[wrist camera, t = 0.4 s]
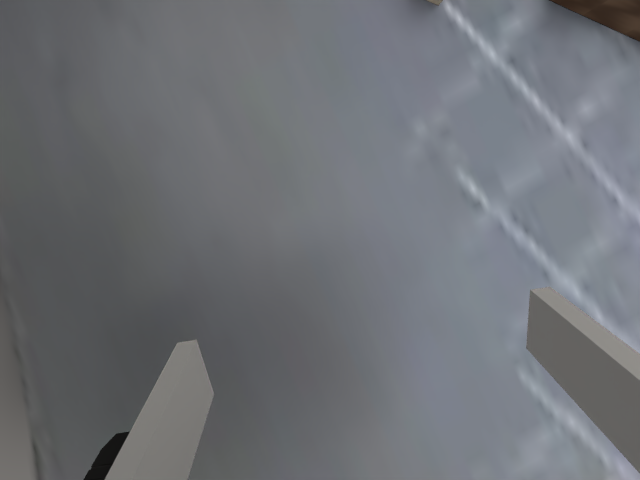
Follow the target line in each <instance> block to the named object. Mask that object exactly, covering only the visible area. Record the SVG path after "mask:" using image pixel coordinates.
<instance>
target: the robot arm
mask: <svg viewBox="0 0 640 480" xmlns="http://www.w3.org/2000/svg"><path fill="white" fill-rule="evenodd" d="M526 348H527V349H528V351H529V352H530V353H531V354H532V355H533V356H534V357H535V358H536V359H537V360H538V362H539V363H540V364H541V365H542V366H543V367H544V368H545V369H546V370H547V372H548V373H549V374H550V375H551V376H552V377H553V378H554V379H555V380H556V381H557V383H558V384H559V385H560V386H561V387H562V388H563V389H564V390H565V391H566V392H567V394H568V395H569V396H570V397H571V398H572V399H573V400H574V401H575V402H576V404H577V405H578V406H579V407H580V408H581V409H582V410H583V411H584V412H585V413H586V415H587V416H588V417H589V418H590V419H591V420H592V421H593V422H594V423H595V425H596V426H597V427H598V428H599V429H600V430H601V431H602V432H603V433H604V434H605V436H606V437H607V438H608V439H609V440H610V441H611V442H612V443H613V444H614V446H615V447H616V448H617V449H618V450H619V451H620V452H621V453H622V454H623V455H624V457H625V458H626V459H627V460H628V461H629V462H630V463H631V464H632V465H633V466H634V468H635V469H636V470H637V471H638V472H639V473H640V354H639V353H638V352H636V351H635V350H634V349H632V348H631V347H630V346H628V345H627V344H626V343H624V342H623V341H622V340H620V339H619V338H618V337H616V336H615V335H614V334H612V333H611V332H610V331H608V330H607V329H606V328H604V327H603V326H602V325H600V324H599V323H598V322H596V321H595V320H594V319H592V318H591V317H590V316H588V315H587V314H586V313H584V312H583V311H582V310H580V309H579V308H578V307H576V306H575V305H574V304H572V303H571V302H570V301H568V300H567V299H566V298H564V297H563V296H562V295H560V294H559V293H558V292H556V291H555V290H554V289H552V288H551V287H546V288H539V289H532V290H530V301H529V316H528V331H527V346H526ZM213 396H214V392H213V389H212V386H211V383H210V380H209V377H208V374H207V370H206V367H205V364H204V361H203V358H202V355H201V352H200V349H199V346H198V343H197V340H191V341H185V342H178V343H177V344H176V346H175V348H174V350H173V352H172V354H171V356H170V357H169V359H168V361H167V363H166V365H165V367H164V369H163V371H162V372H161V374H160V376H159V378H158V380H157V382H156V384H155V386H154V388H153V389H152V391H151V393H150V395H149V397H148V399H147V401H146V403H145V404H144V406H143V408H142V410H141V412H140V414H139V416H138V418H137V420H136V421H135V423H134V425H133V427H132V429H131V431H130V432H125V433H118V434H116V435H115V436H114V437H113V438H112V439H111V440H110V441H109V442H108V443H107V444H106V445H105V446H104V447H103V448H102V449H101V451H100V453H99V454H98V456H97V458H96V459H95V461H94V463H93V464H92V466H91V467H92V468H91V470H89V471H88V473H87V475H86V476H85V478H84V480H188V477H189V473H190V470H191V467H192V464H193V460H194V457H195V454H196V451H197V448H198V444H199V441H200V438H201V435H202V432H203V428H204V425H205V422H206V419H207V415H208V412H209V409H210V406H211V403H212V399H213Z"/></svg>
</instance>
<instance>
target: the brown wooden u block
mask: <svg viewBox="0 0 640 480" xmlns="http://www.w3.org/2000/svg"><path fill="white" fill-rule="evenodd" d="M550 1H552V2H554V3H557V4H559V5H561V6H563V7H565V8H568V9H570V10H572V11H574V12H576V13H579V14H581V15H583V16H585V17H587V18H589V19H592V20H594V21H596V22H598V23H600V24H603V25H605V26H607V27H609V28H611V29H614V30H616V31H618V32H620V33H622V34H625V35H627V36H629V37H631V38H633V39H635V40H638V41H640V0H550Z"/></svg>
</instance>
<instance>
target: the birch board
mask: <svg viewBox="0 0 640 480" xmlns="http://www.w3.org/2000/svg"><path fill="white" fill-rule="evenodd" d="M427 1H429V2H431V3H434V4H436V5H438V6H439V4H440V3H441V2H442V1H443V0H427Z"/></svg>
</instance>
